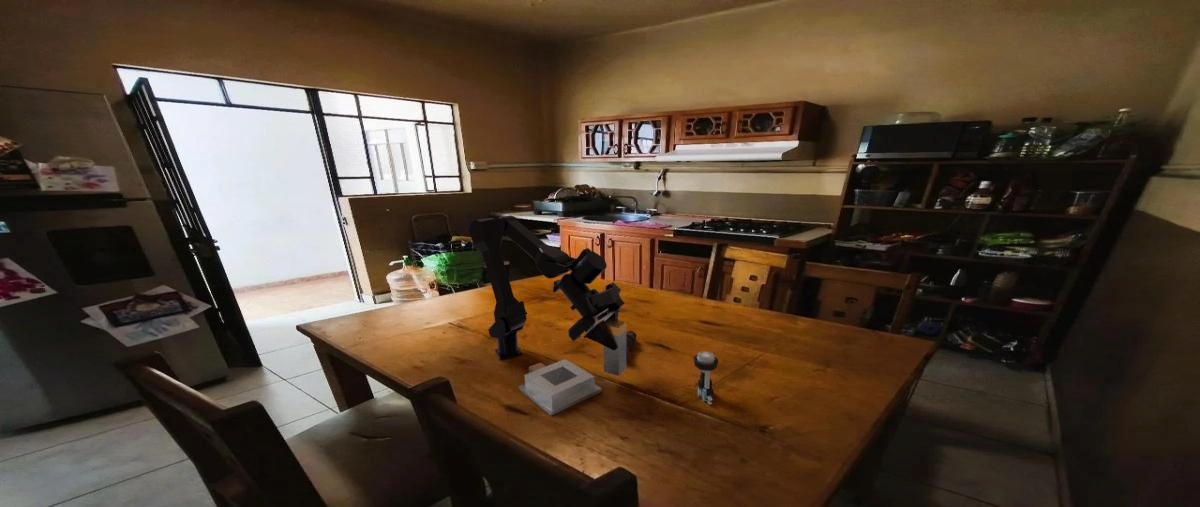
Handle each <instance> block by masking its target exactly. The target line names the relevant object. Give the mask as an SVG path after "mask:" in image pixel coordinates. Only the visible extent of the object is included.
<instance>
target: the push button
mask: <svg viewBox="0 0 1200 507" xmlns="http://www.w3.org/2000/svg"><path fill="white" fill-rule="evenodd" d="M692 359H693V362H694V367H696V368H697V369H698V370H699V371H700V374H699V379H697V380H698V381H697V396H698V397H701V399H702V401H703V402H707V404H708V405H713V403H712V401H713V398H714V389H713V381H712V379H711V377H710V376H711V372H712V371H714V370H716V369H717V368H718V364H719V359H718V358H717V357H716V356H715V355H714V353H712V352H710V351H699V352H698V353H697V354H695V355H694V356H693V358H692Z"/></svg>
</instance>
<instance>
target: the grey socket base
mask: <svg viewBox="0 0 1200 507" xmlns="http://www.w3.org/2000/svg"><path fill="white" fill-rule="evenodd" d="M518 390H520V391H521V393H523V394H524V395H525V396H526V397H528V398H529V400H531V401H533V402H534V403H535V405H537V406H538V407H540V408H541V409H542V410H543V411H545V413H547V414H548V415H550V417H552V416H554V415H556V414H558V413H560V412H562V411H564V410H566V409H568V408H571V407H572V406H574V405H577V404H579V403H581V402H582V401H585V400H587V399H589V398H591V397H593V396H595V395H597V394H599V393H600V392H602V387H600V386H598V385H597V384H596V383H595V376H594V375H592V374H591V373H589V372H588V371H586V370H584V369H583V368H582V367H579V366H578V365H576V364H575V363H573V362H571V361H570V360H567V359H566V358H565V359H562V360H559V361H557V362H554V363H551V364H548V365H547V366H546V365H545V364H544V363H542V362H539V363H535V364H533V365H530V366H528V373H526V374H524V384H521V385H519V386H518Z"/></svg>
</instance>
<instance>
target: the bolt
mask: <svg viewBox="0 0 1200 507" xmlns="http://www.w3.org/2000/svg"><path fill="white" fill-rule="evenodd" d="M637 342H638V340H637V333H636V332H634V331H632V330H628V331H626V363H627V362H628V360H629V359H630V357H631V356H632V354H631V352H630V350H631V349H633V348H634V347H635V345H636V344H637Z"/></svg>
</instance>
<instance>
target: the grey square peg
mask: <svg viewBox="0 0 1200 507" xmlns="http://www.w3.org/2000/svg"><path fill="white" fill-rule="evenodd" d="M604 326H605V330H606V331H607V332H608V334H609V335H610V337H611V338H612V340H613V341H614V343H615V344H616V346H617V349H616V350H615V351H614V350H612V349H610V348H608V347H606V346H604V345H603V372H604V373H607V374H610V375H615V376H618V377H619V376H621V374H623V372H625V370H627V362H626V333H627V321H622V320H619V319H618V320H613V319H611V320H609V321H608V322H606V323H605V324H604Z"/></svg>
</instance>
